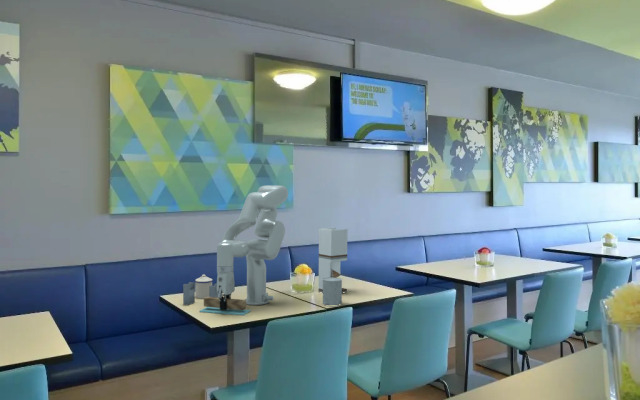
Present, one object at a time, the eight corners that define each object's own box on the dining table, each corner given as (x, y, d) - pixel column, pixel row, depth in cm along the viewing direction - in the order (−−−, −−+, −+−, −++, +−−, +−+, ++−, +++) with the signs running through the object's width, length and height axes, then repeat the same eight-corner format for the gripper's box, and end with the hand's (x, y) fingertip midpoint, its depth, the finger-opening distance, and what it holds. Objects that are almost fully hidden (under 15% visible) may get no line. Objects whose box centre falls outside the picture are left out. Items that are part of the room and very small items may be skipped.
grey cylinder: (328, 307, 244) (328, 281, 244) (319, 302, 252) (319, 278, 252) (345, 305, 248) (345, 280, 248) (335, 300, 257) (336, 276, 256)
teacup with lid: (214, 298, 262) (214, 275, 261) (196, 299, 258) (196, 276, 258) (209, 293, 273) (209, 271, 272) (192, 294, 269) (192, 273, 269)
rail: (246, 308, 233) (246, 300, 233) (243, 310, 230) (243, 301, 229) (206, 304, 238) (207, 296, 238) (203, 306, 235) (203, 297, 235)
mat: (250, 311, 235) (250, 309, 235) (243, 315, 227) (243, 314, 227) (207, 307, 240) (207, 306, 240) (199, 312, 233) (199, 310, 233)
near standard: (220, 304, 248) (220, 284, 248) (214, 307, 242) (214, 286, 242) (214, 303, 249) (214, 283, 248) (209, 306, 243) (209, 286, 243)
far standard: (194, 302, 252) (194, 282, 251) (188, 305, 246) (188, 284, 246) (189, 302, 252) (189, 282, 252) (183, 304, 247) (183, 284, 246)
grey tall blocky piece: (331, 295, 269) (331, 230, 268) (318, 292, 278) (318, 228, 277) (346, 292, 276) (347, 229, 275) (334, 289, 285) (334, 227, 284)
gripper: (224, 272, 224) (224, 313, 225) (240, 266, 240) (240, 305, 241) (209, 271, 226) (209, 312, 227) (225, 266, 242) (225, 304, 243)
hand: (225, 308), depth 234 cm, fingers closed on rail, 3 cm apart
